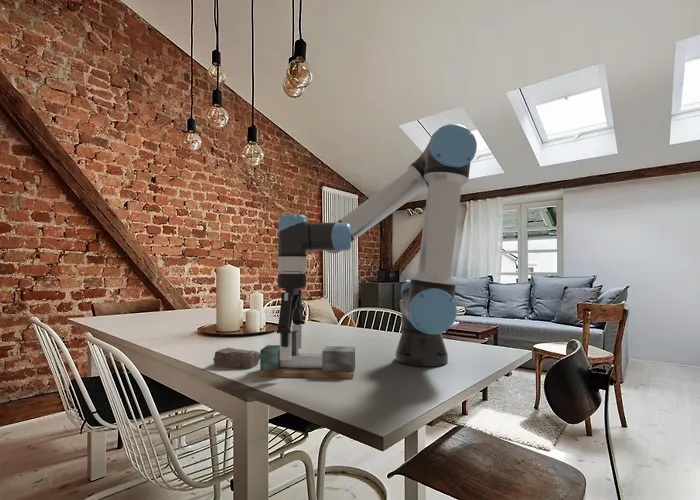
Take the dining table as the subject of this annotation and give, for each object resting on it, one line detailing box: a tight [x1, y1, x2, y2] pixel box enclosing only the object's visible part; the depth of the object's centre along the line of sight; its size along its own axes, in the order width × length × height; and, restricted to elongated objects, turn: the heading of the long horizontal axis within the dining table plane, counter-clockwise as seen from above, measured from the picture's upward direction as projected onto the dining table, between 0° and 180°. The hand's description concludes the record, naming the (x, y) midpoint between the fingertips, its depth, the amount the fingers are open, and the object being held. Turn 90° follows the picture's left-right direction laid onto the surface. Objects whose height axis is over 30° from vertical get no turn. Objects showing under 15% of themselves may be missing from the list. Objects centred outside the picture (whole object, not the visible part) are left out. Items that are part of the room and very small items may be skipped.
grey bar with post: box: [279, 330, 322, 368], centre depth 103 cm, size 16×3×9 cm, turn 86°
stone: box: [212, 347, 260, 369], centre depth 111 cm, size 9×12×5 cm
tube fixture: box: [257, 344, 356, 379], centre depth 103 cm, size 24×10×6 cm, turn 86°
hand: (291, 353), depth 103 cm, fingers open, 13 cm apart
